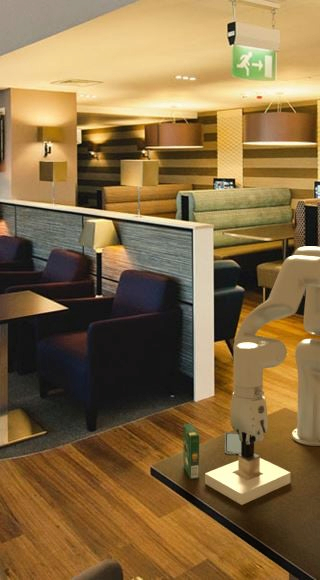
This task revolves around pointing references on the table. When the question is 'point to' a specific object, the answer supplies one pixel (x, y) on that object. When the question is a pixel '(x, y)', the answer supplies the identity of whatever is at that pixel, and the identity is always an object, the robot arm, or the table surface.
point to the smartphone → (232, 443)
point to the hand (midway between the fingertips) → (247, 455)
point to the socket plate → (245, 490)
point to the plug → (249, 466)
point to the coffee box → (191, 451)
